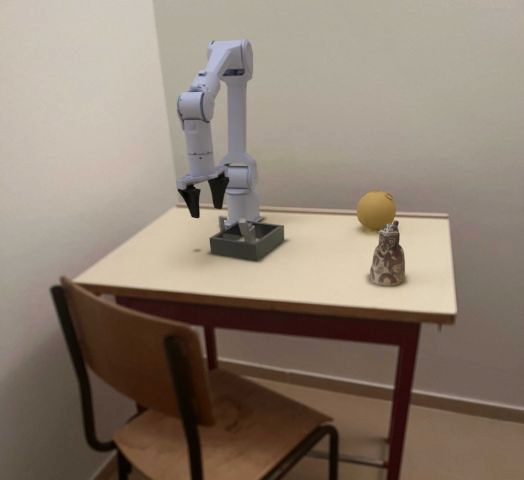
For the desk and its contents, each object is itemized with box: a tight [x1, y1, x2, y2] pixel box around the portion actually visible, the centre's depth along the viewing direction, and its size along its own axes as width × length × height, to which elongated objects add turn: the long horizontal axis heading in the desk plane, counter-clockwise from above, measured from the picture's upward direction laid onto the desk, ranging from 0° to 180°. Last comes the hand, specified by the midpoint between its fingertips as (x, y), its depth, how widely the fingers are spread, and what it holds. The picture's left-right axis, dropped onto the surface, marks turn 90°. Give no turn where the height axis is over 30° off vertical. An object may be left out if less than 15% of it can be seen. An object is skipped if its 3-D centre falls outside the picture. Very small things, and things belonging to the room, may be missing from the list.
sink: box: [208, 215, 285, 262], centre depth 127 cm, size 14×15×7 cm
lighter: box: [238, 219, 257, 243], centre depth 127 cm, size 7×2×8 cm, turn 162°
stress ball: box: [356, 189, 397, 231], centre depth 132 cm, size 10×10×10 cm
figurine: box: [369, 219, 406, 287], centre depth 106 cm, size 7×7×12 cm
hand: (207, 212), depth 121 cm, fingers open, 7 cm apart
